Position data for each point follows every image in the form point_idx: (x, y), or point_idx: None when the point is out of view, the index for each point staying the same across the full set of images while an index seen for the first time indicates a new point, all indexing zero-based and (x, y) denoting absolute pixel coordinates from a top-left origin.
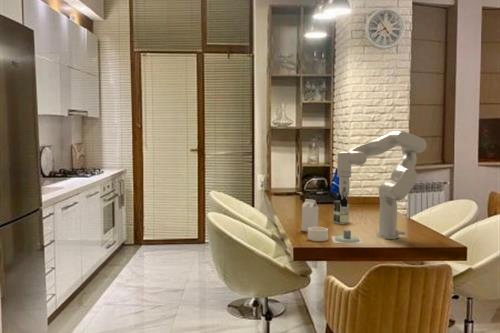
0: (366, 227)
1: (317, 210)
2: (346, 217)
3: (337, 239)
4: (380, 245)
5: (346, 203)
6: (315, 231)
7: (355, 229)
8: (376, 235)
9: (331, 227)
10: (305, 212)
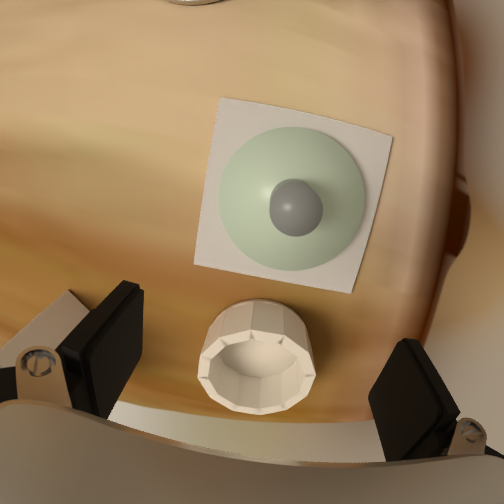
0: (6, 48)
1: (13, 349)
2: None
3: (316, 265)
4: (407, 59)
5: (429, 373)
6: (306, 392)
7: (28, 96)
8: (194, 2)
9: (3, 206)
10: None
